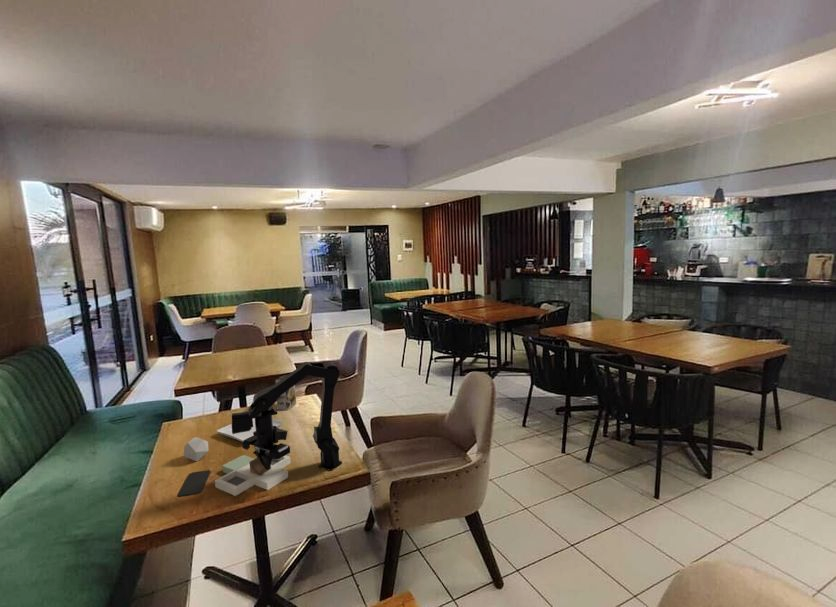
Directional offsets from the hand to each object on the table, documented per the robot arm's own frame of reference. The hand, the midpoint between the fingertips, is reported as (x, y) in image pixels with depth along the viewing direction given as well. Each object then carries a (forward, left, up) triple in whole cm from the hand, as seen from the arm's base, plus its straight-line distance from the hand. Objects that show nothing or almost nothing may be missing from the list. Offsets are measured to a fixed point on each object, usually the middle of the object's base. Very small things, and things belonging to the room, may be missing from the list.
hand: (267, 469), depth 145 cm
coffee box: (+49, -52, -4) cm, 72 cm away
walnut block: (+4, 0, -2) cm, 4 cm away
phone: (+22, +14, -5) cm, 27 cm away
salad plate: (+40, -23, -5) cm, 47 cm away
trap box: (+7, 0, -4) cm, 8 cm away
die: (+39, +3, -4) cm, 40 cm away
